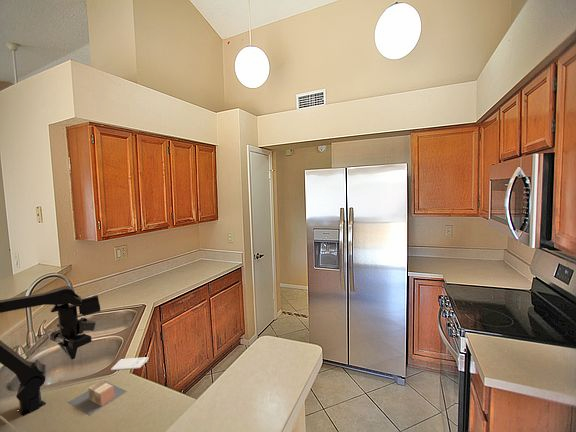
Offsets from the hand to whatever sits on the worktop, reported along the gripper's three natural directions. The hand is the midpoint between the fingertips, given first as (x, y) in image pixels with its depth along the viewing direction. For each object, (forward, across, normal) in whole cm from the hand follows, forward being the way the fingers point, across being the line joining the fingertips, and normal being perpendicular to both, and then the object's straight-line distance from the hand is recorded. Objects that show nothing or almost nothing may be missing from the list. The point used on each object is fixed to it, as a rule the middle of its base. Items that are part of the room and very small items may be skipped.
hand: (72, 358), depth 108 cm
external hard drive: (+14, -3, -20) cm, 24 cm away
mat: (+13, -12, -2) cm, 18 cm away
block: (+10, -11, -2) cm, 15 cm away
